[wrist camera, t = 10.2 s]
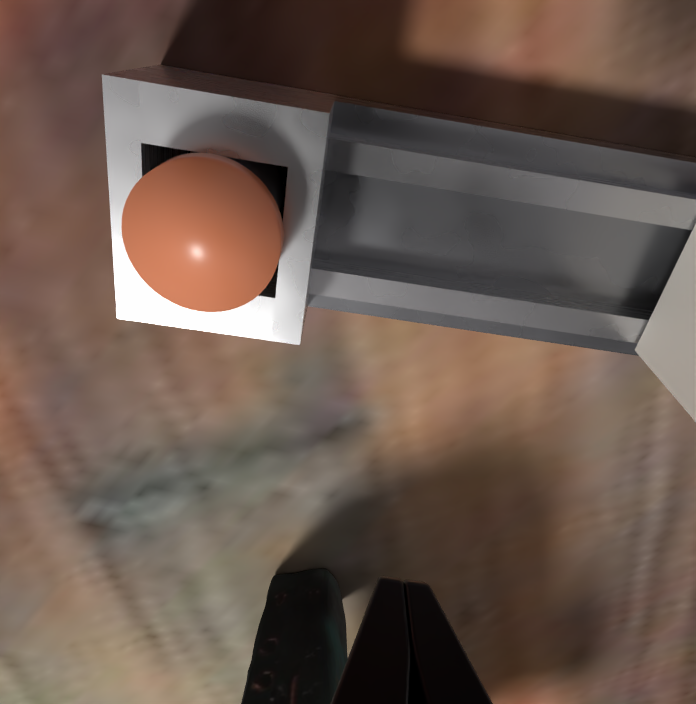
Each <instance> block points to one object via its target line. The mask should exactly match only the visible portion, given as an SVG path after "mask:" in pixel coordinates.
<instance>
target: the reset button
mask: <svg viewBox="0 0 696 704" xmlns="http://www.w3.org/2000/svg"><path fill="white" fill-rule="evenodd" d="M282 201H283V183H282V179H281V176H280V173H279V172H278V170H277V168H276V166H275V165H273V164H267V163H261V162H254V161H248V160H242V159H236V158H230V157H224V156H220V155H216V154H211V153H188V154H183V155H179V156H176V157H173V158H171V159H169V160H167V161H165V162H163V163H161V164H160V165H158V166H157V167H155V168H154V169H152V170H151V171H149V172H148V173H147V174H145V175H144V176H143V177H142V178H141V179H140V180H139V181H138V182H137V183H136V184H135V186H134V187H133V188H132V190H131V191H130V193H129V195H128V197H127V199H126V202H125V205H124V208H123V214H122V226H121V230H122V238H123V242H124V246H125V250H126V252H127V255H128V258H129V260H130V262H131V263H132V265H133V267H134V269H135V270H136V272H137V273H138V274H139V276H140V277H141V278H142V279H143V280H144V282H145V283H146V284H147V285H148V286H149V287H150V288H151V289H153V290H154V291H155V292H156V293H158V294H159V295H160V296H162V297H163V298H165V299H167V300H168V301H170V302H172V303H174V304H176V305H179V306H181V307H184V308H187V309H190V310H195V311H201V312H222V311H228V310H232V309H235V308H238V307H240V306H243V305H245V304H247V303H248V302H250V301H252V300H253V299H254V298H256V297H257V296H258V295H259V294H260V293H261V292H262V291H263V290H264V289H265V288H266V286H267V285H268V284H269V282H270V281H271V279H272V277H273V275H274V273H275V270H276V267H277V265H278V262H279V259H280V256H281V253H282V248H283V242H284V229H283V222H282V217H281V213H280V211H279V210H280V208H281V205H282Z"/></svg>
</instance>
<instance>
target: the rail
mask: <svg viewBox="0 0 696 704" xmlns="http://www.w3.org/2000/svg"><path fill="white" fill-rule="evenodd" d="M102 85H103V101H104V117H105V133H106V149H107V166H108V182H109V198H110V214H111V230H112V246H113V263H114V279H115V295H116V311H117V318H118V319H125V320H132V321H138V322H145V323H152V324H159V325H166V326H173V327H180V328H187V329H193V330H200V331H207V332H214V333H221V334H228V335H235V336H242V337H248V338H255V339H262V340H269V341H276V342H283V343H290V344H297V345H300V342H301V337H302V332H303V327H304V322H305V317H306V312H307V307H308V306H310V307H317V308H324V309H331V310H337V311H344V312H351V313H357V314H364V315H371V316H377V317H384V318H391V319H397V320H404V321H411V322H417V323H424V324H431V325H437V326H444V327H451V328H457V329H464V330H471V331H477V332H484V333H491V334H497V335H504V336H511V337H518V338H524V339H531V340H538V341H544V342H551V343H558V344H564V345H571V346H578V347H584V348H591V349H598V350H604V351H611V352H618V353H624V354H631V355H638V354H637V352H636V351H635V348H636V346H637V344H638V342H639V340H640V338H641V336H642V334H643V332H644V330H645V328H646V326H647V323H648V321H649V319H650V317H651V315H652V313H653V311H654V309H655V307H656V305H657V303H658V301H659V299H660V297H661V294H662V292H663V290H664V288H665V286H666V284H667V282H668V280H669V278H670V276H671V274H672V272H673V270H674V267H675V265H676V263H677V261H678V259H679V257H680V255H681V253H682V251H683V249H684V247H685V245H686V243H687V240H688V238H689V236H690V234H691V232H692V230H693V228H694V226H695V224H696V157H692V156H687V155H681V154H675V153H669V152H663V151H658V150H652V149H646V148H640V147H634V146H629V145H623V144H617V143H611V142H605V141H600V140H594V139H588V138H582V137H577V136H571V135H565V134H559V133H553V132H548V131H542V130H536V129H530V128H524V127H519V126H513V125H507V124H501V123H495V122H490V121H484V120H478V119H472V118H466V117H461V116H455V115H449V114H443V113H438V112H432V111H426V110H420V109H414V108H409V107H403V106H397V105H391V104H385V103H380V102H374V101H368V100H362V99H356V98H351V97H345V96H339V95H333V94H327V93H322V92H316V91H310V90H304V89H298V88H293V87H287V86H281V85H275V84H270V83H264V82H258V81H252V80H246V79H241V78H235V77H229V76H223V75H217V74H212V73H206V72H200V71H194V70H188V69H183V68H177V67H171V66H165V65H155V66H149V67H143V68H137V69H131V70H125V71H119V72H113V73H108V74H102ZM188 151H194V152H200V153H211V154H216V155H220V156H224V157H230V158H236V159H242V160H248V161H254V162H261V163H267V164H273V165H279V166H285V167H288V173H287V184H286V194H285V204H284V214H283V229H284V242H283V248H282V253H281V256H280V259H279V262H278V265H277V267H276V270H275V273H274V275H273V277H272V279H271V281H270V282H269V284H268V285H267V286H266V288H265V289H264V290H263V291H262V292H261V293H260V294H259V295H258V296H257V297H256V298H254V299H253V300H252V301H250V302H248V303H247V304H245V305H243V306H240V307H238V308H235V309H232V310H228V311H222V312H201V311H195V310H190V309H187V308H184V307H181V306H179V305H176V304H174V303H172V302H170V301H168V300H167V299H165V298H163V297H162V296H160V295H159V294H158V293H156V292H155V291H154V290H153V289H151V288H150V287H149V286H148V285H147V284H146V283H145V282H144V280H143V279H142V278H141V277H140V276H139V274H138V273H137V272H136V270H135V269H134V267H133V265H132V263H131V262H130V260H129V258H128V255H127V252H126V250H125V246H124V242H123V238H122V230H121V226H122V214H123V208H124V205H125V202H126V199H127V197H128V195H129V193H130V191H131V190H132V188H133V187H134V186H135V184H136V183H137V182H138V181H139V180H140V179H141V178H142V177H143V176H144V175H145V174H147V173H148V172H149V171H151V170H152V169H154V168H155V167H157V166H158V165H160V164H161V163H163V162H165V161H167V160H169V159H171V158H173V157H176V156H179V155H183V154H188ZM638 356H639V355H638Z"/></svg>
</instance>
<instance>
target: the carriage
mask: <svg viewBox="0 0 696 704" xmlns="http://www.w3.org/2000/svg"><path fill="white" fill-rule="evenodd" d="M635 351H636V352H637V354H638V355H639V356H640V357H641V358H642V359H643V361H644V362H645V363H646V364H647V365H648V366H649V368H650V369H651V370H652V371H653V372H654V374H655V375H656V376H657V377H658V378H659V379H660V381H661V382H662V383H663V384H664V385H665V386H666V388H667V389H668V390H669V391H670V392H671V394H672V395H673V396H674V397H675V398H676V399H677V401H678V402H679V403H680V404H681V405H682V406H683V408H684V409H685V410H686V411H687V412H688V413H689V415H690V416H691V417H692V418H693V419H694V421H695V422H696V224H695V226H694V228H693V230H692V232H691V234H690V236H689V238H688V240H687V243H686V245H685V247H684V249H683V251H682V253H681V255H680V257H679V259H678V261H677V263H676V265H675V267H674V270H673V272H672V274H671V276H670V278H669V280H668V282H667V284H666V286H665V288H664V290H663V292H662V294H661V297H660V299H659V301H658V303H657V305H656V307H655V309H654V311H653V313H652V315H651V317H650V319H649V321H648V323H647V326H646V328H645V330H644V332H643V334H642V336H641V338H640V340H639V342H638V344H637V346H636V348H635Z"/></svg>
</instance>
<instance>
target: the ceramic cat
mask: <svg viewBox="0 0 696 704" xmlns="http://www.w3.org/2000/svg"><path fill="white" fill-rule="evenodd" d="M347 660H348V658H347V638H346V621H345V614H344V609H343V603H342V597H341V593H340V588H339V585H338V583H337V581H336V580H335V578H334V577H333V575H332V574H331V573H330V572H329V571H328V570H327V569H313V570H308V571H304V572H300V573H296V574H283V575H274V577H273V578H272V580H271V583H270V587H269V590H268V594H267V601H266V605H265V609H264V612H263V615H262V618H261V621H260V624H259V627H258V631H257V635H256V639H255V643H254V649H253V655H252V661H251V664H250V667H249V670H248V675H247V682H246V686H245V690H244V694H243V698H242V703H241V704H331V702H332V699H333V697H334V694H335V691H336V689H337V686H338V683H339V681H340V678H341V676H342V673H343V670H344V668H345V665H346V662H347Z"/></svg>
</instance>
